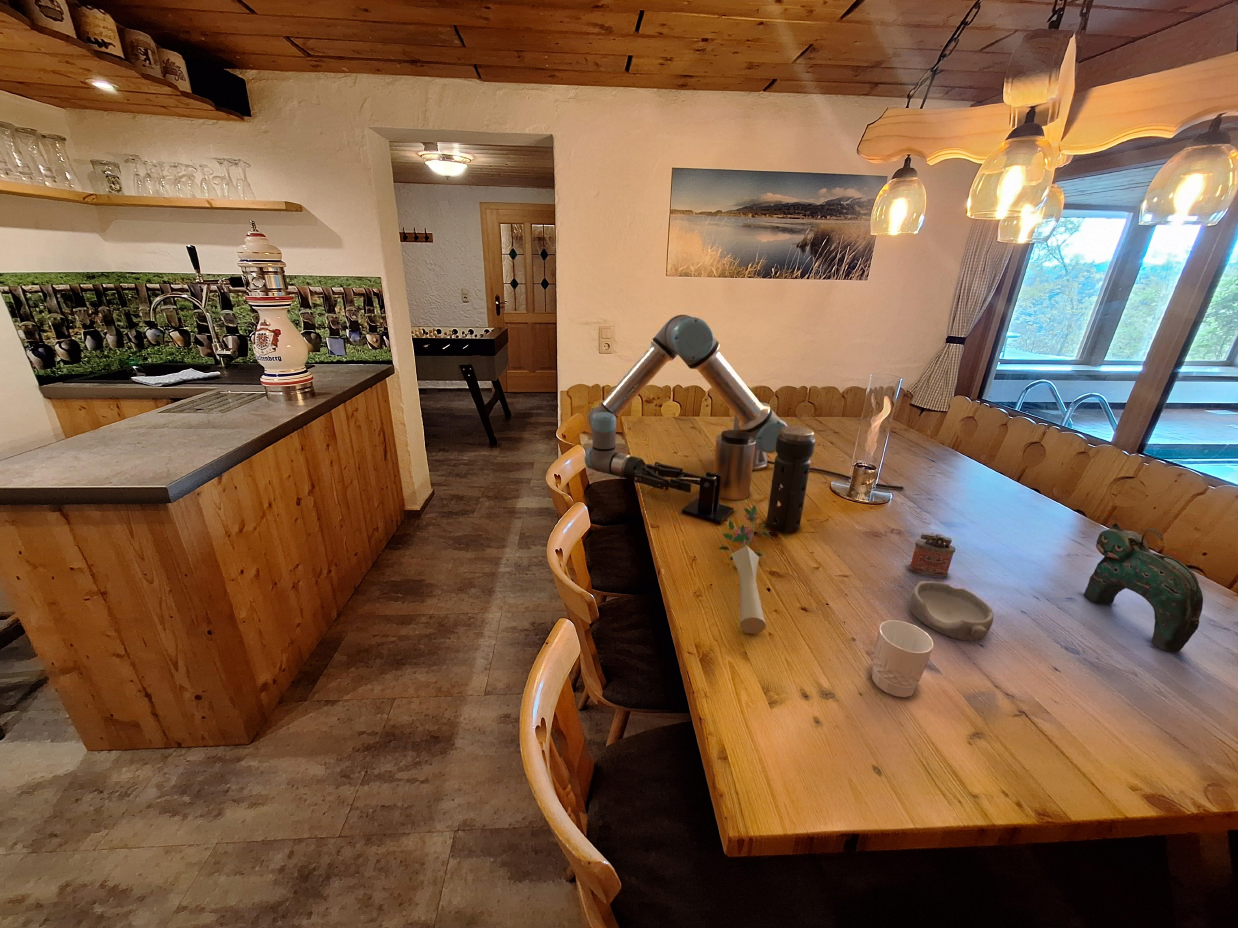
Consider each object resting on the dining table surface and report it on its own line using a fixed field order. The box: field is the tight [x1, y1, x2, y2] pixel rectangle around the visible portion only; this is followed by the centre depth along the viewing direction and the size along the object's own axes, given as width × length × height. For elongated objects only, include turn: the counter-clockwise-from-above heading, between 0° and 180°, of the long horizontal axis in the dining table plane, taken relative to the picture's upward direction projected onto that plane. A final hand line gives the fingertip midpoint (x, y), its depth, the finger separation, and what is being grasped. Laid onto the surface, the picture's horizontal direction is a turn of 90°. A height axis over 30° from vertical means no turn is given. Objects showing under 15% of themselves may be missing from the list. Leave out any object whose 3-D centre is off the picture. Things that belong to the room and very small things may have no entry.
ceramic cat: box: [1083, 522, 1204, 652], centre depth 97 cm, size 20×6×20 cm, turn 178°
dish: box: [909, 580, 995, 641], centre depth 99 cm, size 14×14×5 cm
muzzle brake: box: [765, 425, 816, 534], centre depth 131 cm, size 10×28×10 cm
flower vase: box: [718, 504, 772, 635], centre depth 110 cm, size 12×12×35 cm
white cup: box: [870, 619, 935, 698], centre depth 83 cm, size 8×8×10 cm
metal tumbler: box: [712, 429, 756, 501], centre depth 154 cm, size 12×12×20 cm
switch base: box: [681, 471, 735, 526], centre depth 141 cm, size 12×10×12 cm
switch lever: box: [674, 474, 717, 485], centre depth 143 cm, size 12×6×2 cm, turn 56°
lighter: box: [908, 532, 956, 579], centre depth 114 cm, size 8×3×10 cm, turn 71°
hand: (695, 484), depth 143 cm, fingers closed on switch lever, 6 cm apart
